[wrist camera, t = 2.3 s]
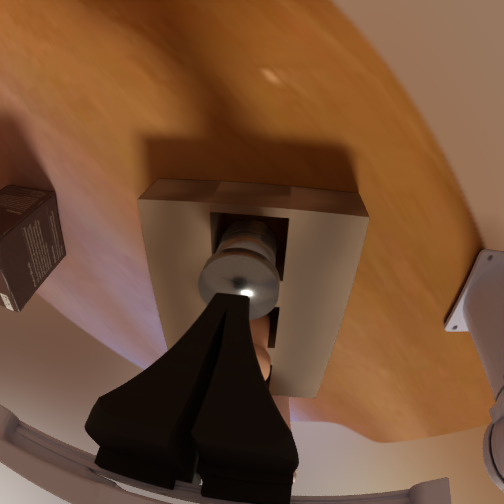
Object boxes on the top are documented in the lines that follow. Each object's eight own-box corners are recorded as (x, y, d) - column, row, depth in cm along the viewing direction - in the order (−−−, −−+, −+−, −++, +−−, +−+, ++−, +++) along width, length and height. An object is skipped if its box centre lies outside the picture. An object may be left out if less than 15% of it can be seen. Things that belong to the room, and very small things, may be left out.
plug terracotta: (276, 303, 19) (271, 354, 16) (272, 340, 21) (267, 388, 18) (219, 297, 20) (204, 346, 16) (221, 335, 22) (209, 381, 18)
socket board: (359, 193, 17) (369, 217, 15) (315, 370, 27) (315, 398, 24) (158, 178, 18) (137, 199, 16) (185, 355, 28) (176, 381, 25)
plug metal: (285, 216, 16) (282, 262, 13) (280, 272, 18) (275, 323, 15) (215, 211, 16) (195, 254, 13) (217, 266, 18) (201, 315, 15)
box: (8, 182, 20) (-52, 227, 14) (57, 190, 20) (-8, 244, 14) (20, 242, 23) (-28, 292, 17) (68, 256, 23) (19, 315, 17)
